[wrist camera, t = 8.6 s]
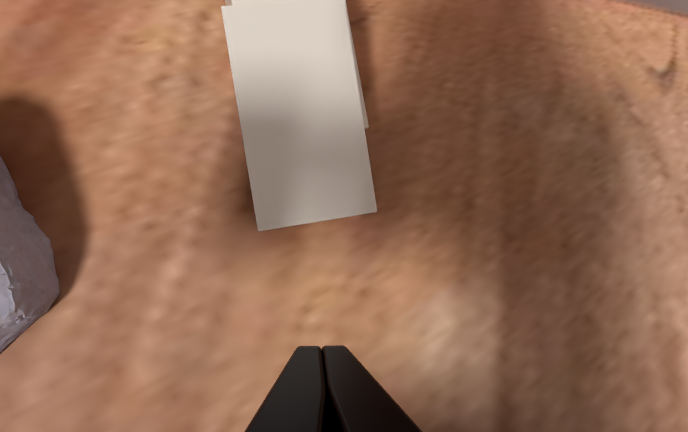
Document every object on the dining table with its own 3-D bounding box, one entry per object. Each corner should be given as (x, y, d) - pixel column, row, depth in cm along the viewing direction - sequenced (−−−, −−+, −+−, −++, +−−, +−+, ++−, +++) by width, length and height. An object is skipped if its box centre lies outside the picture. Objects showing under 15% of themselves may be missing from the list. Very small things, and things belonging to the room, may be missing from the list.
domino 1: (377, 211, 19) (344, -3, 19) (258, 231, 18) (221, 6, 18) (368, 212, 21) (337, 14, 21) (257, 230, 20) (223, 22, 20)
